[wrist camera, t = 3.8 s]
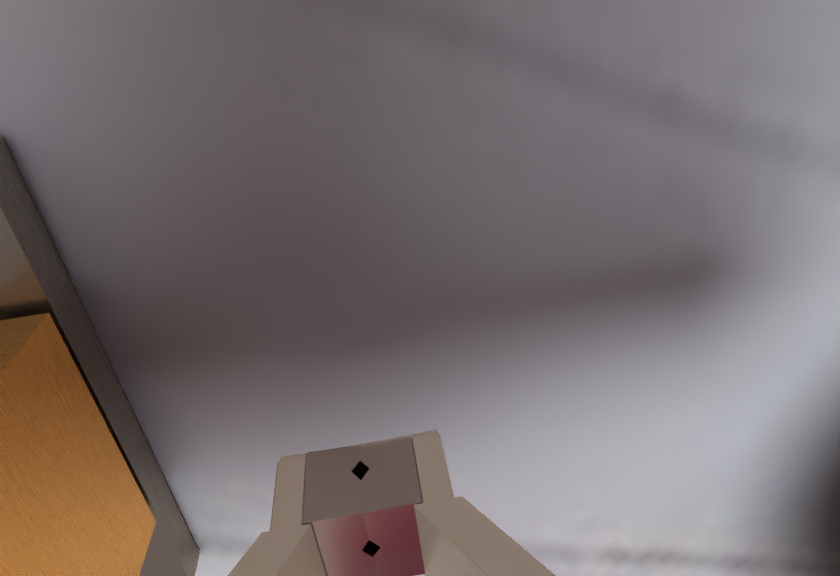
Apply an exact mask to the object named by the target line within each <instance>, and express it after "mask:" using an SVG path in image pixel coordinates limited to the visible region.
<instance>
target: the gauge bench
mask: <svg viewBox="0 0 840 576" xmlns="http://www.w3.org/2000/svg"><path fill="white" fill-rule="evenodd" d="M44 313H50V315H51V317H52V319H53V321H54V323H55V325H56V327H57V329H58V331H59V333H60V335H61V337H62V339H63V341H64V343H65V345H66V347H67V349H68V351H69V353H70V355H71V356H72V358H73V360H74V362H75V364H76V366H77V368H78V370H79V372H80V374H81V376H82V378H83V380H84V382H85V384H86V386H87V388H88V390H89V392H90V394H91V396H92V397H93V399H94V401H95V403H96V405H97V407H98V409H99V411H100V413H101V415H102V417H103V419H104V421H105V423H106V425H107V427H108V429H109V431H110V433H111V435H112V437H113V438H114V440H115V442H116V444H117V446H118V448H119V450H120V452H121V454H122V456H123V458H124V460H125V462H126V464H127V466H128V468H129V470H130V472H131V474H132V476H133V478H134V479H135V481H136V483H137V485H138V487H139V489H140V491H141V493H142V495H143V497H144V499H145V501H146V503H147V505H148V507H149V509H150V511H151V513H152V515H153V517H154V519H155V520H156V524H155V527H154V530H153V533H152V536H151V540H150V543H149V546H148V549H147V552H146V555H145V559H144V562H143V565H142V568H141V571H140V575H139V576H195V571H196V567H197V562H198V558H199V553H200V552H199V550H198V548H197V546H196V544H195V542H194V540H193V538H192V536H191V533H190V531H189V529H188V527H187V525H186V523H185V521H184V519H183V517H182V514H181V512H180V510H179V508H178V506H177V504H176V502H175V500H174V498H173V495H172V493H171V491H170V489H169V487H168V485H167V483H166V481H165V479H164V476H163V474H162V472H161V470H160V468H159V466H158V464H157V462H156V460H155V457H154V455H153V453H152V451H151V449H150V447H149V445H148V443H147V441H146V438H145V436H144V434H143V432H142V430H141V428H140V426H139V424H138V422H137V419H136V417H135V415H134V413H133V411H132V409H131V407H130V405H129V403H128V400H127V398H126V396H125V394H124V392H123V390H122V388H121V386H120V383H119V381H118V379H117V377H116V375H115V373H114V371H113V369H112V367H111V364H110V362H109V360H108V358H107V356H106V354H105V352H104V350H103V348H102V345H101V343H100V341H99V339H98V337H97V335H96V333H95V331H94V329H93V326H92V324H91V322H90V320H89V318H88V316H87V314H86V312H85V310H84V307H83V305H82V303H81V301H80V299H79V297H78V295H77V293H76V291H75V288H74V286H73V284H72V282H71V280H70V278H69V276H68V274H67V272H66V269H65V267H64V265H63V263H62V261H61V259H60V257H59V255H58V253H57V250H56V248H55V246H54V244H53V242H52V240H51V238H50V236H49V234H48V231H47V229H46V227H45V225H44V223H43V221H42V219H41V217H40V215H39V212H38V210H37V208H36V206H35V204H34V202H33V200H32V198H31V196H30V193H29V191H28V189H27V187H26V185H25V183H24V181H23V179H22V177H21V174H20V172H19V170H18V168H17V166H16V164H15V162H14V160H13V158H12V155H11V153H10V151H9V149H8V147H7V145H6V143H5V141H4V139H3V137H0V320H6V319H12V318H19V317H25V316H32V315H38V314H44Z"/></svg>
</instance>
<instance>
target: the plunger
mask: <svg viewBox="0 0 840 576" xmlns="http://www.w3.org/2000/svg"><path fill="white" fill-rule="evenodd" d="M155 524H156V520H155V519H154V517H153V515H152V513H151V511H150V509H149V507H148V505H147V503H146V501H145V499H144V497H143V495H142V493H141V491H140V489H139V487H138V485H137V483H136V481H135V479H134V478H133V476H132V474H131V472H130V470H129V468H128V466H127V464H126V462H125V460H124V458H123V456H122V454H121V452H120V450H119V448H118V446H117V444H116V442H115V440H114V438H113V437H112V435H111V433H110V431H109V429H108V427H107V425H106V423H105V421H104V419H103V417H102V415H101V413H100V411H99V409H98V407H97V405H96V403H95V401H94V399H93V397H92V396H91V394H90V392H89V390H88V388H87V386H86V384H85V382H84V380H83V378H82V376H81V374H80V372H79V370H78V368H77V366H76V364H75V362H74V360H73V358H72V356H71V355H70V353H69V351H68V349H67V347H66V345H65V343H64V341H63V339H62V337H61V335H60V333H59V331H58V329H57V327H56V325H55V323H54V321H53V319H52V317H51V315H50V313H44V314H38V315H32V316H25V317H19V318H12V319H6V320H0V576H139V575H140V571H141V568H142V565H143V562H144V559H145V555H146V552H147V549H148V546H149V543H150V540H151V536H152V533H153V530H154V527H155Z"/></svg>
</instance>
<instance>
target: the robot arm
mask: <svg viewBox="0 0 840 576" xmlns="http://www.w3.org/2000/svg"><path fill="white" fill-rule="evenodd" d="M420 574H425V575H426V576H555V575H554V574H553V573H552V572H551V571H549V570H548V569H547V568H546V567H545V566H544V565H542V564H541V563H540V562H539V561H538V560H536V559H535V558H534V557H533V556H532V555H531V554H529V553H528V552H527V551H526V550H525V549H523V548H522V547H521V546H520V545H519V544H518V543H516V542H515V541H514V540H513V539H512V538H511V537H509V536H508V535H507V534H506V533H505V532H503V531H502V530H501V529H500V528H499V527H498V526H496V525H495V524H494V523H493V522H492V521H490V520H489V519H488V518H487V517H486V516H485V515H483V514H482V513H481V512H480V511H479V510H477V509H476V508H475V507H474V506H473V505H472V504H470V503H469V502H468V501H467V500H466V499H465V498H463V497H455V498H454V495H453V491H452V486H451V482H450V477H449V473H448V469H447V464H446V460H445V456H444V451H443V447H442V442H441V438H440V434H439V432H438V431H437V430H434V431H429V432H423V433H418V434H413V435H412V438H411V435H408V436H403V437H397V438H392V439H386V440H381V441H375V442H370V443H365V444H360V445H354V446H348V447H341V448H334V449H328V450H321V451H314V452H308V453H305V454H298V455H291V456H284V457H280V460H279V462H278V464H277V473H276V481H275V490H274V499H273V508H272V517H271V526H270V531H268V532H263V533H261V534H260V535H259V537H258V538H257V539H256V541H255V542H254V543H253V544H252V546H251V547H250V548H249V549H248V551H247V552H246V553H245V555H244V556H243V557H242V558H241V560H240V561H239V562H238V563H237V565H236V566H235V567H234V569H233V570H232V571H231V572H230V574H229V575H228V576H414V575H420Z"/></svg>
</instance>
